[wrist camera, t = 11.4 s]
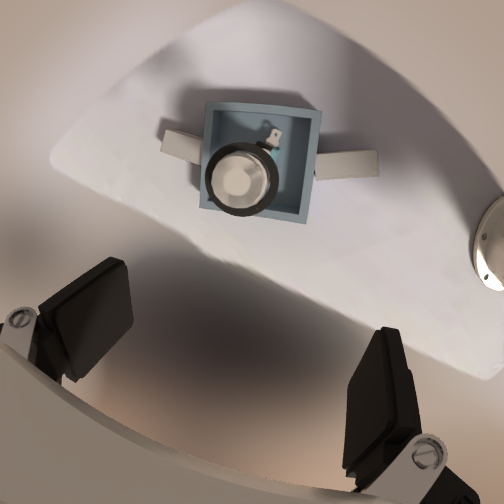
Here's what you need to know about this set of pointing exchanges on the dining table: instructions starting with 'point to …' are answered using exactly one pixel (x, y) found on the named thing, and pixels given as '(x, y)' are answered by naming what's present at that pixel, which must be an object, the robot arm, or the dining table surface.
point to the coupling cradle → (291, 144)
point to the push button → (244, 176)
